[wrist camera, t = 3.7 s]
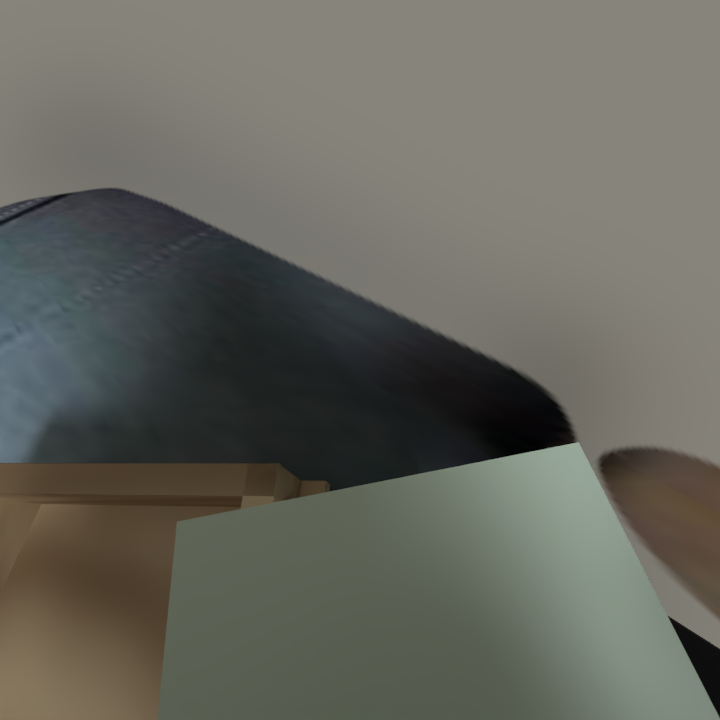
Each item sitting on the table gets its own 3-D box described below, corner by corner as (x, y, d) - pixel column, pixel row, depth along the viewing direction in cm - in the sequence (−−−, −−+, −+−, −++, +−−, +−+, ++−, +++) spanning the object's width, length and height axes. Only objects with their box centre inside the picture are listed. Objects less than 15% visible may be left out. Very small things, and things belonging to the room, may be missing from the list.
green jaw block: (490, 674, 11) (1108, 1475, 1) (353, 701, 11) (61, 1690, 1) (447, 522, 13) (579, 441, 4) (335, 545, 13) (176, 521, 4)
